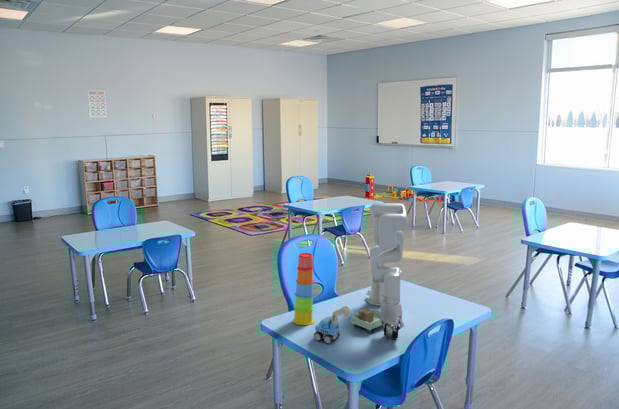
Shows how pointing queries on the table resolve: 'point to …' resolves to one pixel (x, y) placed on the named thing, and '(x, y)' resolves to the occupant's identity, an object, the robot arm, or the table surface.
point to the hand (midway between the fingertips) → (390, 336)
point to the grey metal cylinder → (389, 331)
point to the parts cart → (365, 324)
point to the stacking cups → (304, 290)
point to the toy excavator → (330, 326)
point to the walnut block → (366, 315)
